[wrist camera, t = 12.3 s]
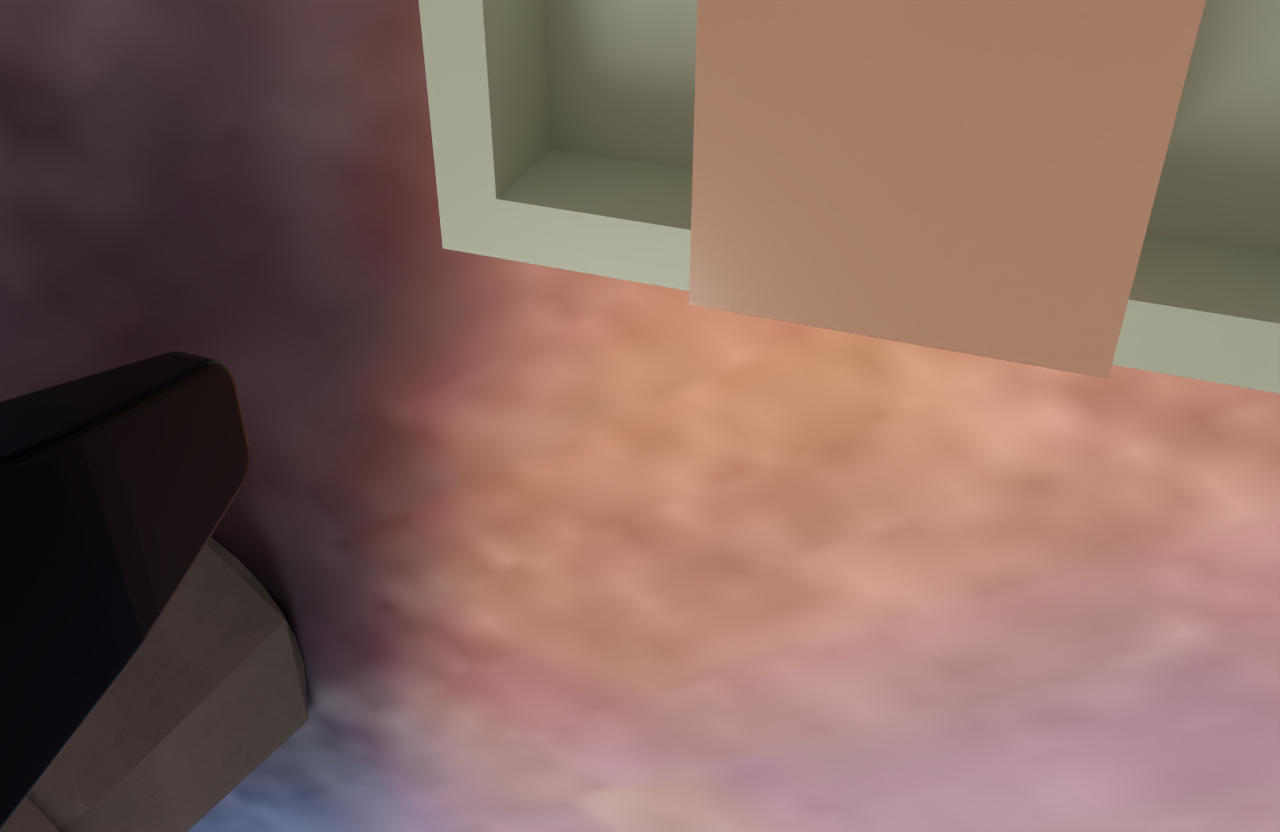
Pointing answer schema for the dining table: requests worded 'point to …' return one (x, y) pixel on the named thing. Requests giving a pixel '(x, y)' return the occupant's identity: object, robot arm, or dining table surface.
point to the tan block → (934, 166)
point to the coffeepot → (180, 713)
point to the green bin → (663, 165)
